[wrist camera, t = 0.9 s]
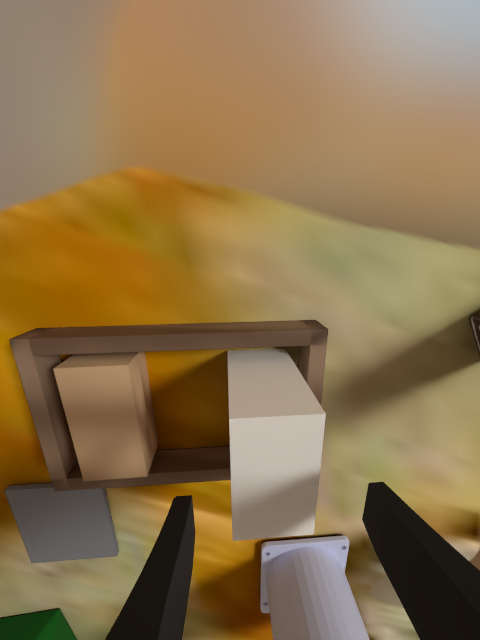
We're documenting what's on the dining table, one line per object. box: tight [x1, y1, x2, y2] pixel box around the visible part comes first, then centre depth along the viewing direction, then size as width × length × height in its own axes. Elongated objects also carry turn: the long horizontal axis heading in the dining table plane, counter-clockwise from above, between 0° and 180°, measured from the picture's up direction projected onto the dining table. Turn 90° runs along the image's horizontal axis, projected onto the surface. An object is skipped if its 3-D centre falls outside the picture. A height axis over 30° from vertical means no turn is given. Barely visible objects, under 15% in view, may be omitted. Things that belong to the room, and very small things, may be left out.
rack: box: [9, 320, 328, 491], centre depth 16 cm, size 11×18×2 cm, turn 91°
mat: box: [5, 483, 119, 563], centre depth 19 cm, size 8×7×1 cm
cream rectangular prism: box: [227, 348, 326, 541], centre depth 14 cm, size 7×4×7 cm, turn 1°
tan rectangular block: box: [53, 352, 158, 481], centre depth 16 cm, size 8×4×3 cm, turn 2°
